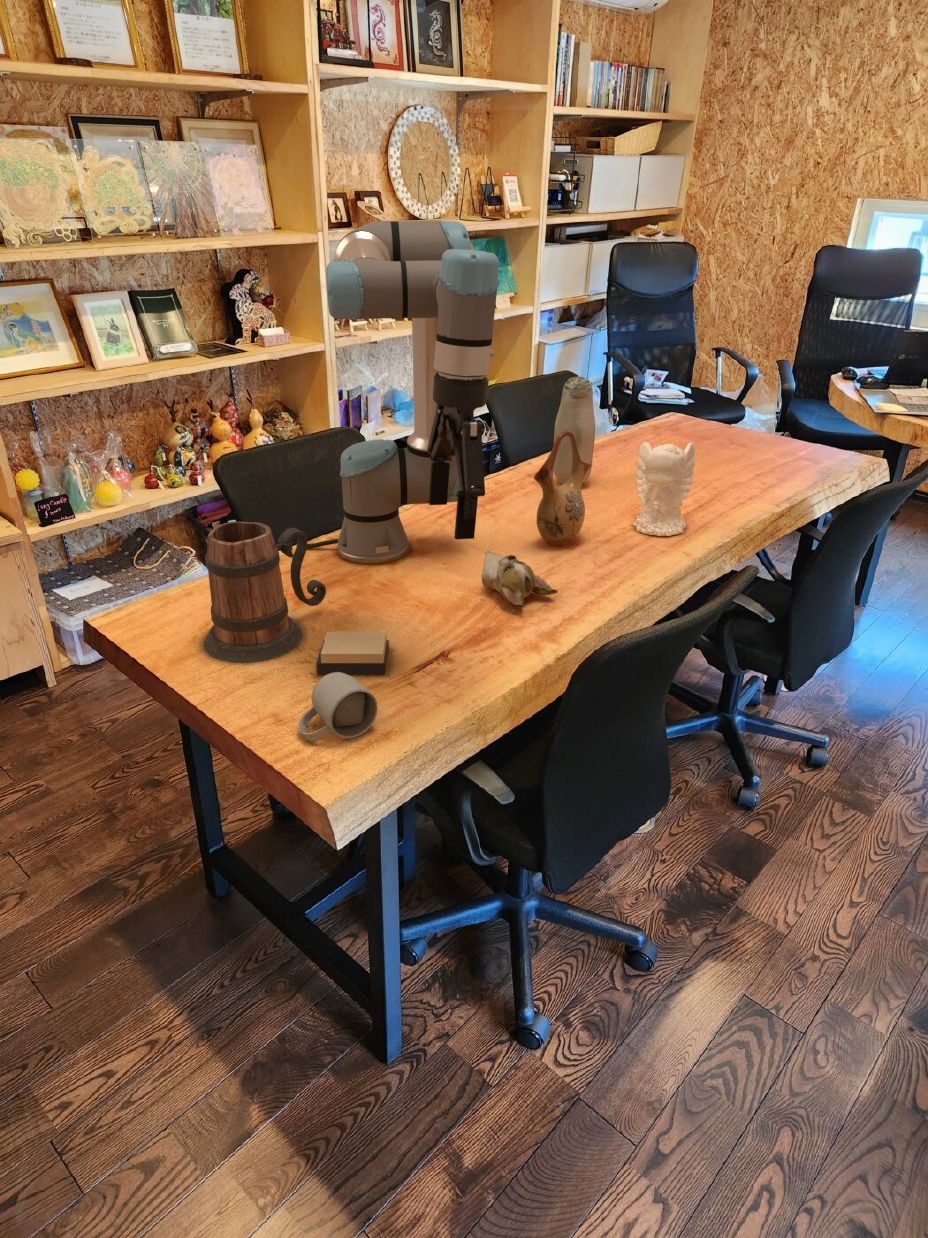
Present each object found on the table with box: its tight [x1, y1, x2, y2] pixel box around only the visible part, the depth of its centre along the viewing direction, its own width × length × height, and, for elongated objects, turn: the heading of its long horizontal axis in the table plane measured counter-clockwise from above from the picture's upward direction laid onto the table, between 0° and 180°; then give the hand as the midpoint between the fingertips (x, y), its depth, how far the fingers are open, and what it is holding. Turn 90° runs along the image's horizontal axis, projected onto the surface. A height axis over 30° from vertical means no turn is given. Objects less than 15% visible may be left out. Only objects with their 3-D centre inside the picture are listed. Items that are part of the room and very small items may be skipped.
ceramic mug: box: [297, 672, 379, 742], centre depth 119 cm, size 11×8×8 cm
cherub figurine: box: [632, 441, 696, 537], centre depth 187 cm, size 13×12×20 cm
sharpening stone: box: [315, 631, 390, 676], centre depth 136 cm, size 11×8×4 cm
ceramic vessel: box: [533, 431, 591, 547], centre depth 177 cm, size 16×9×25 cm, turn 132°
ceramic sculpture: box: [481, 550, 559, 609], centre depth 157 cm, size 11×9×15 cm
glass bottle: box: [553, 376, 596, 485], centre depth 211 cm, size 10×10×28 cm
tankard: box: [203, 521, 327, 664], centre depth 142 cm, size 24×17×20 cm
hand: (450, 520), depth 122 cm, fingers open, 13 cm apart
